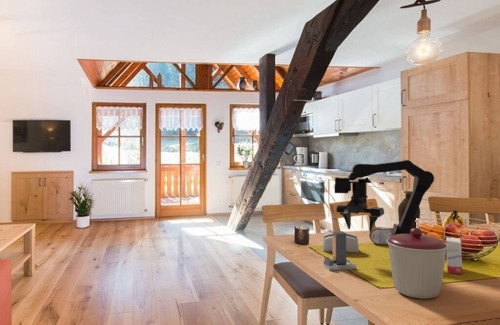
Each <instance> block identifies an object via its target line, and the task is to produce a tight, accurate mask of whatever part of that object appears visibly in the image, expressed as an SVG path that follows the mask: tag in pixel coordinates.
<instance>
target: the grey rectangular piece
mask: <svg viewBox="0 0 500 325" xmlns="http://www.w3.org/2000/svg"><path fill="white" fill-rule="evenodd" d="M350 260H351V259H346V265H334V264H333V259H331V258H330V257H329V256H324V260H323V266H324V267H325V268H326V269H327V270H328V271H329V272H331V271H343V270H356V269H357V264H356V263H352V262H351V261H350Z"/></svg>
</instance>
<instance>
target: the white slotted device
mask: <svg viewBox="0 0 500 325" xmlns="http://www.w3.org/2000/svg"><path fill="white" fill-rule="evenodd" d="M345 233H346V253H359V251H360V250H359V249H360V248H359V247H360V246H359V239H358V237H357V235H356V234H351V233H349V232H345ZM332 235H333V232H332V233H331V232H330V233H327V234H324V235H323V240H322V242H323V243H322V244H321V245H322V246H321V250H322V252H331V251H332V252H331V253H333V238H332Z"/></svg>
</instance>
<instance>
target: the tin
mask: <svg viewBox="0 0 500 325" xmlns="http://www.w3.org/2000/svg"><path fill="white" fill-rule="evenodd" d="M392 229H393V227H384V226H383V227H382V226H376V227H373V229H372V232H370V231H369V235H368V236H369V238H370V239H369V240H370V241H371V242H372V243H373V244H375V245H378V246H379V245H382V246H383V245H384V246H389V245H388V243H387V242H386V240H387V239H388V238H390V237H391V235H392V233H391V231H392Z"/></svg>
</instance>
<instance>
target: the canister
mask: <svg viewBox="0 0 500 325" xmlns="http://www.w3.org/2000/svg"><path fill="white" fill-rule="evenodd" d="M386 242H387V243H388V245H387V246H388V253H389V260H390V261H389V262H390V268H391V274H392V275H391V276H392V281H393V285H394V287H395V289H396V290H397V292H398V293H401V295H404V296H405V297H409V298H414V299H419V300H420V299H423V300H424V299H426V300H427V299H428V300H429V299H434V298H436V297H437V296H439V294H440V292H441V289H442V285H443V284H442V283H443V278H444V277H443V276H444V268H445V263H446V262H445V261H446V255H447V249H448V247H449V246H448V244H447V243H446V242H444V241H443V239H440V238H438V237H436V236H431V235H426V234H423V231H422V230H421V229H420V227H419V228H412V229H411V230H410V234H397V235H393V236H391V237H390V238H388V239H387V240H386Z"/></svg>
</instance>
